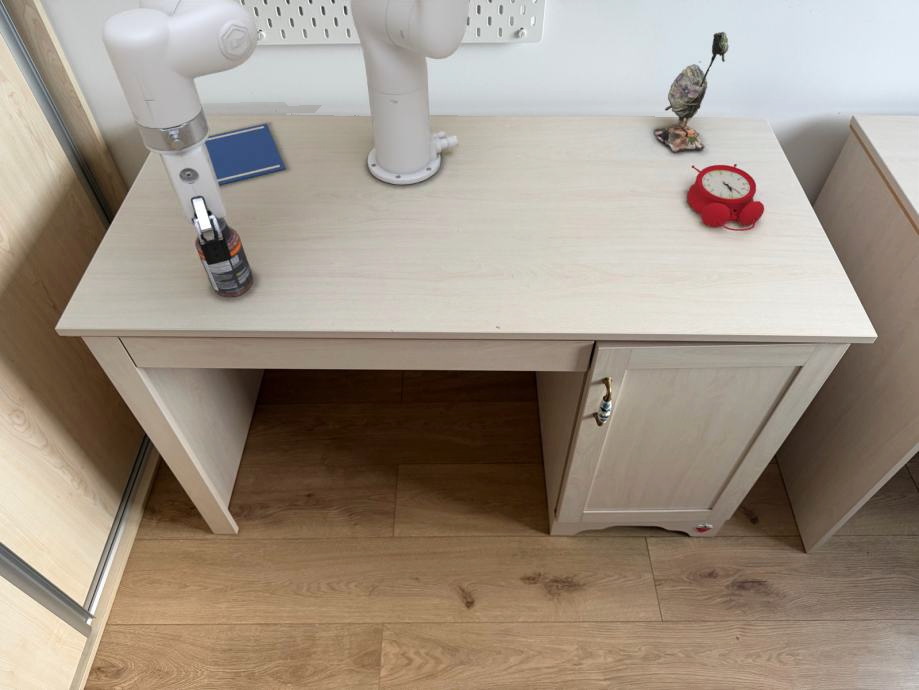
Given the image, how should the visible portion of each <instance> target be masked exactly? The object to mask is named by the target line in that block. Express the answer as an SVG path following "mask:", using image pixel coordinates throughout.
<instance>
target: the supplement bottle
mask: <svg viewBox="0 0 919 690" xmlns="http://www.w3.org/2000/svg"><path fill="white" fill-rule="evenodd" d="M217 221H218V224H219V227H220V230H221V234H224V236H225V239H226V242H227V245H228V248H229V251H230V254H231V257H232V258H231V260H228V261H224V262H220V263H216V264H212V265H208V264H207V263H206V260H205V257H204V255H203V252H202V249H201V247H200V244H199V241H198V240H199V237H198V235H197V237H196V238H195V241H194V242H195V243H194V245H195V250H196V252H197V254H198V257H199V259H200V261H201V263H202V266H203V268H204V271H205V273H206V276H207V278H208V281H209V282H210V285H211V287H212V289H213V291H214V292H215V293H217V294H218V295H220V296H222V297H226V298H227V297H229V298H231V297H238V296H240V295H242V294H244V293H246V292H247V291H248V290H249V289H250V288H251V287H252V285H253V283H254V276H253V272H252V267H251V266H250V263H249V260H248V257H247V255H246V252H245V249H244V245H243V243H242V240H241V238H240V235H239V234H238V232H237V230H235V229H234V228H233V227H231V226H229V225H228V223H227V220H226V219H225V217H224V218H223V217H222V218H219V219H218V218H217ZM210 223H211V226H212V229H215V226H214V223H213V220H212V221H210ZM199 225H200V224H199ZM200 228H201V227H200ZM215 230H216V229H215ZM201 231H202V230H201Z"/></svg>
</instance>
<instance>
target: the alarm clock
mask: <svg viewBox="0 0 919 690" xmlns="http://www.w3.org/2000/svg"><path fill="white" fill-rule="evenodd" d="M691 169H694V170H695V171H696V172H697V176H696V178H695V181H694V183H693V184H692V185H691V186H690V187H689V188H688V190H687V194H686V199H687V203H688V205H689V206H690V208H691V209H692V210H693V211H695V212H696V214H698V215H700V216H701V217H700V219H701V221H702V222H703V224H705V225H706V226H707V227H710V228H719V227H723V228H724V229H726V230H729V231H736V232H738V231H739V232H743V231H749V230H752V229H754V228H755V225H756V223H757V222H758V221H759V220H761V218H762V217H763V215H764V212H765V206H764V204H763V202H761V201H760V200H755V201H754V197H755V195H756V192H757V183H756V181H755V179H754V178H753V176H751V175H750V174H749V173H748V172H746V171H745V170H743V169H741V168H738V165H737V163H734V164H733V166H732V165H726V164H716V165H715V164H714V165H708V166H707V167H704V168H702V169H701V170H700V169H698V168H697V167H696V166H695V165H691ZM734 222H738V223H739V224H740V225H741V226H743V227H744V226H745V227H747V228H731V227H729V226H726V224H727V223H734ZM751 225H752V226H751ZM748 226H750V227H748Z"/></svg>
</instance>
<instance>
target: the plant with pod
mask: <svg viewBox="0 0 919 690" xmlns="http://www.w3.org/2000/svg"><path fill="white" fill-rule="evenodd" d="M728 43H729V39H728V36H727V33H726V32H725V31H721V32H715V33H714V34H713V40H712V46H711V53H712V54H711V55H712V56H711V60H710V63H709V65H708V68H707V69H706V71H705V72H704V70H702V69H701V68H700V66H699V65H698V64H695V63H693V64H691V65H687V66H686V67H685V69H684V68H683V69H682V70H681V72H680V73H679V74H678V75H677V76H676V78H675V79H674V80H673V82H672V83H671V85H670V89H669V90H668V95H667V100H668V102H669V105H668V106H666V107H665V108H664V111H666V112H667V111H669V110H670V109H671V112H673V113H674V114H675V115H676V116H677V117H678V120H677V125H676V124H675V125H672V126H669V127H662V128H656V129H654V130H653V131H654V134H655V135H656V137H657V138H658V140H659V141H661V142H665V145H667V146H669V147H670V148H671V150H672V152H676V153H677V152H679V151H680V152H682V151H683V150H692V151H694V150H701V151H702V150H704V149H705V147H706V146H704V144H703V143H702V139H701V138H702V136H701V135H700V133H699V132H698V131H696V130H695V129H693V128H692V127H691V126H689V125H688V123H689V122H690V121H691V119H692V118H693V117H695V115H696V114H697V113H698V112H699V111H698V110H700V109H701V105H702V102H703V101H704V98H705V95H706V93H707V92H706V91H707V90H708V81H707V76H708V74H709V71H710V68H711V67H712V65H713V64H714V61H715V60H716V57H717V55H719V57H721V62H723V63H724V62H726V60H725V55H726V53H727V52H728V51H729V47H730V46H729V44H728ZM699 63H700V64H701V63H702V61H699Z"/></svg>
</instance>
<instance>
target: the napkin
mask: <svg viewBox="0 0 919 690" xmlns="http://www.w3.org/2000/svg"><path fill="white" fill-rule="evenodd" d="M205 144H206V147H207V150H208V153H209V156H210V159H211V162H212V165H213V168H214V171H215V174H216V178H217V181H218V184H219V186H222V185H228V184H231V183H236V182H239V181H240V182H241V181H243V180H247V179H251V178H256V177H260V176H264V175H268V174H273V173H276V172H277V173H278V172H281V171H285V170H286V166H285V165H284V162H283V159H282V157H281V154H280V152H279V150H278V147H277V145H276V143H275V140H274V137H273V136H272V134H271V131H270V129H269V126H268V123H262V124H257V125H252V126H249V127H245V128H240V129H235V130H231V131H226V132H222V133H218V134H213V135H209V137H208V139H207V140H206V141H205Z"/></svg>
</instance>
